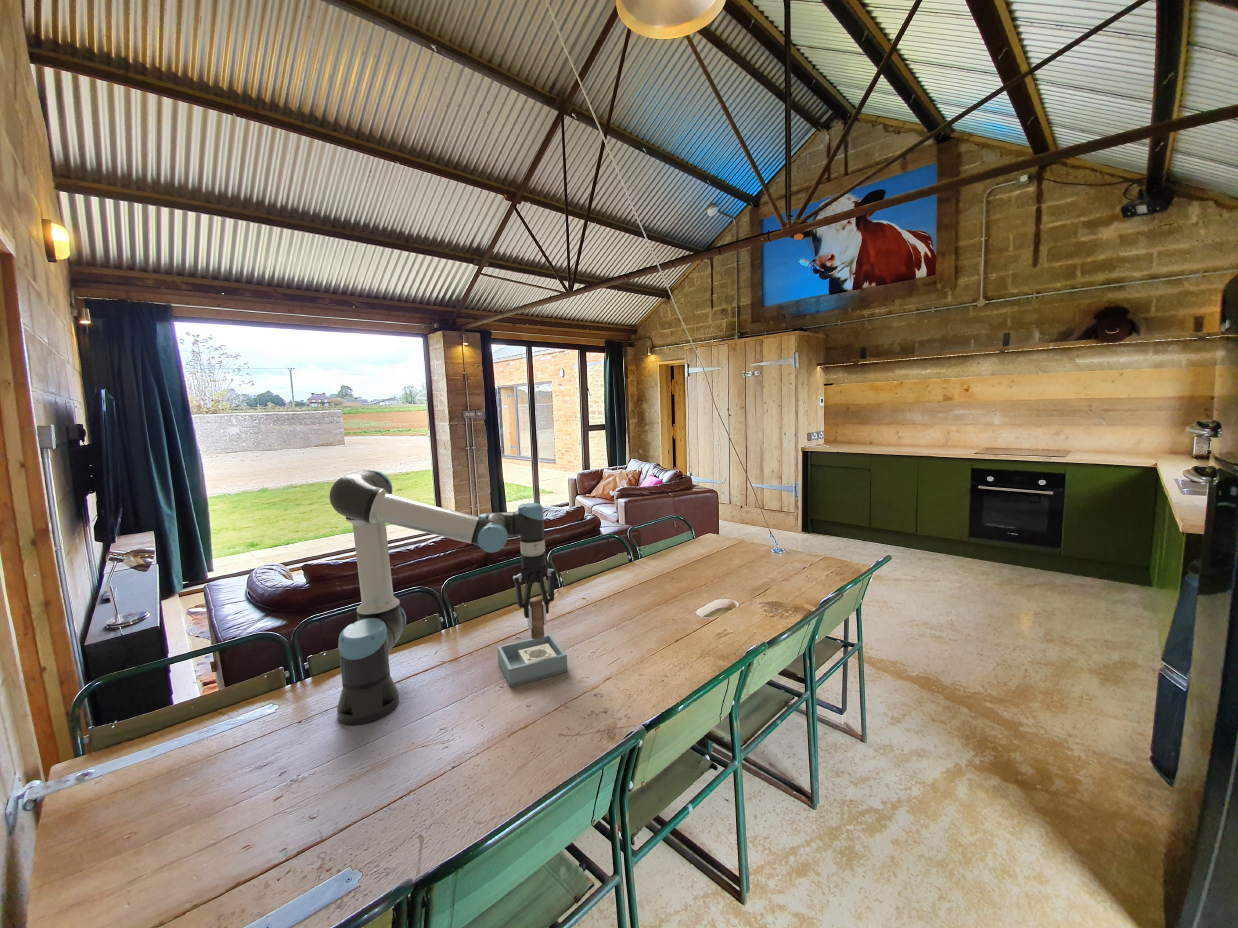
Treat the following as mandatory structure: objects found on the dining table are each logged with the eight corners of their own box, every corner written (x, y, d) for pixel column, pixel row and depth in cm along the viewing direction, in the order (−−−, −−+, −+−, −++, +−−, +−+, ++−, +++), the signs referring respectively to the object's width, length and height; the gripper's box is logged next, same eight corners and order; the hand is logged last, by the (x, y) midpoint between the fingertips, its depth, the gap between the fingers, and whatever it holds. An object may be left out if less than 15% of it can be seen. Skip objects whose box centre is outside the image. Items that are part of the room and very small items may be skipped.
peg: (529, 635, 153) (527, 599, 152) (542, 632, 155) (540, 596, 153) (533, 640, 149) (531, 603, 148) (545, 637, 151) (543, 600, 150)
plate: (526, 673, 146) (526, 664, 146) (518, 659, 155) (518, 650, 155) (558, 665, 151) (557, 656, 150) (548, 651, 160) (547, 643, 159)
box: (509, 687, 141) (508, 669, 141) (498, 662, 156) (497, 646, 155) (567, 671, 149) (566, 654, 148) (551, 649, 163) (550, 633, 163)
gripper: (508, 560, 142) (513, 636, 145) (563, 551, 150) (566, 623, 152) (503, 554, 149) (507, 626, 151) (555, 546, 156) (558, 615, 159)
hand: (537, 624), depth 152 cm, fingers closed on peg, 4 cm apart
